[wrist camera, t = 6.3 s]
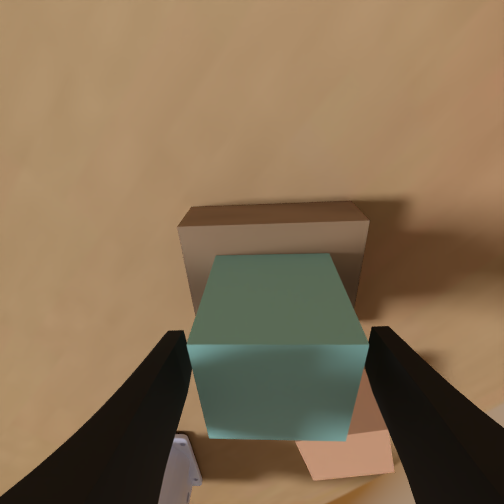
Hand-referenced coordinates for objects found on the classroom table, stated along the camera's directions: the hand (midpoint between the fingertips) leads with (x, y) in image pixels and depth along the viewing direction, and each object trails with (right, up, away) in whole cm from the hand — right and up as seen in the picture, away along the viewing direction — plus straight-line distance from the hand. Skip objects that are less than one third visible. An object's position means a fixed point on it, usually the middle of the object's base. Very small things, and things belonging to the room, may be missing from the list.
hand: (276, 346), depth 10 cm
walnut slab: (0, +3, +5) cm, 6 cm away
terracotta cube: (+5, -6, +9) cm, 12 cm away
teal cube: (0, +1, +3) cm, 3 cm away
